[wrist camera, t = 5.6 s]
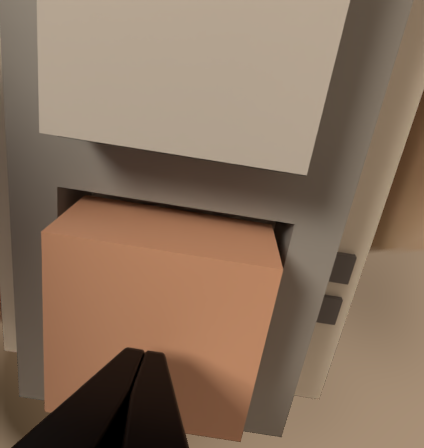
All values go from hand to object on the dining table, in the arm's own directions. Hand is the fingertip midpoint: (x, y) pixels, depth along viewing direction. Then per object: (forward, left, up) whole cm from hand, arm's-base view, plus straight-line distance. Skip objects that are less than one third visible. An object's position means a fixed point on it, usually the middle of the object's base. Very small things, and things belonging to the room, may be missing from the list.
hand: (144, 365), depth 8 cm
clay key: (0, 0, -3) cm, 3 cm away
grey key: (0, +7, -3) cm, 8 cm away
